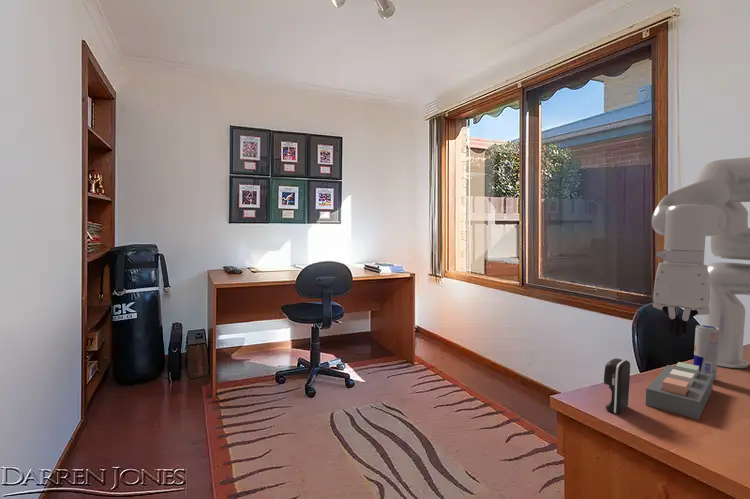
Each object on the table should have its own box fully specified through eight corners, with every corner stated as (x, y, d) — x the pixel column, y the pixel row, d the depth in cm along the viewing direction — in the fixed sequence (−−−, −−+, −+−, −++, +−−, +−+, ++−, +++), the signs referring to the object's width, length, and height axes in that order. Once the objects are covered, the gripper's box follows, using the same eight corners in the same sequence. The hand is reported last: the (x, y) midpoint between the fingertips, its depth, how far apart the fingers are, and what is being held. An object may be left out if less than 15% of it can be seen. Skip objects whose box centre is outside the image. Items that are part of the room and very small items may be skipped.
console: (666, 378, 114) (667, 365, 114) (712, 389, 107) (713, 374, 107) (645, 404, 97) (646, 388, 97) (698, 419, 90) (699, 401, 90)
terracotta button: (665, 389, 99) (666, 377, 99) (688, 395, 96) (689, 382, 96) (661, 394, 96) (662, 381, 96) (685, 400, 93) (685, 387, 93)
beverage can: (707, 376, 117) (710, 324, 116) (720, 383, 112) (724, 329, 111) (688, 375, 117) (691, 323, 116) (700, 382, 112) (704, 328, 111)
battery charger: (611, 401, 99) (613, 355, 98) (628, 406, 96) (631, 359, 95) (600, 409, 94) (602, 361, 94) (618, 415, 92) (621, 365, 91)
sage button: (678, 373, 111) (678, 361, 110) (698, 377, 107) (699, 366, 107) (674, 377, 108) (675, 365, 107) (695, 382, 104) (696, 370, 104)
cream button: (672, 381, 105) (673, 369, 105) (693, 386, 102) (694, 373, 102) (668, 385, 102) (669, 373, 102) (690, 391, 99) (691, 378, 99)
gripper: (641, 256, 97) (637, 332, 98) (723, 261, 86) (718, 346, 87) (648, 255, 102) (644, 327, 103) (727, 259, 92) (722, 339, 93)
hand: (678, 335), depth 95 cm, fingers closed
